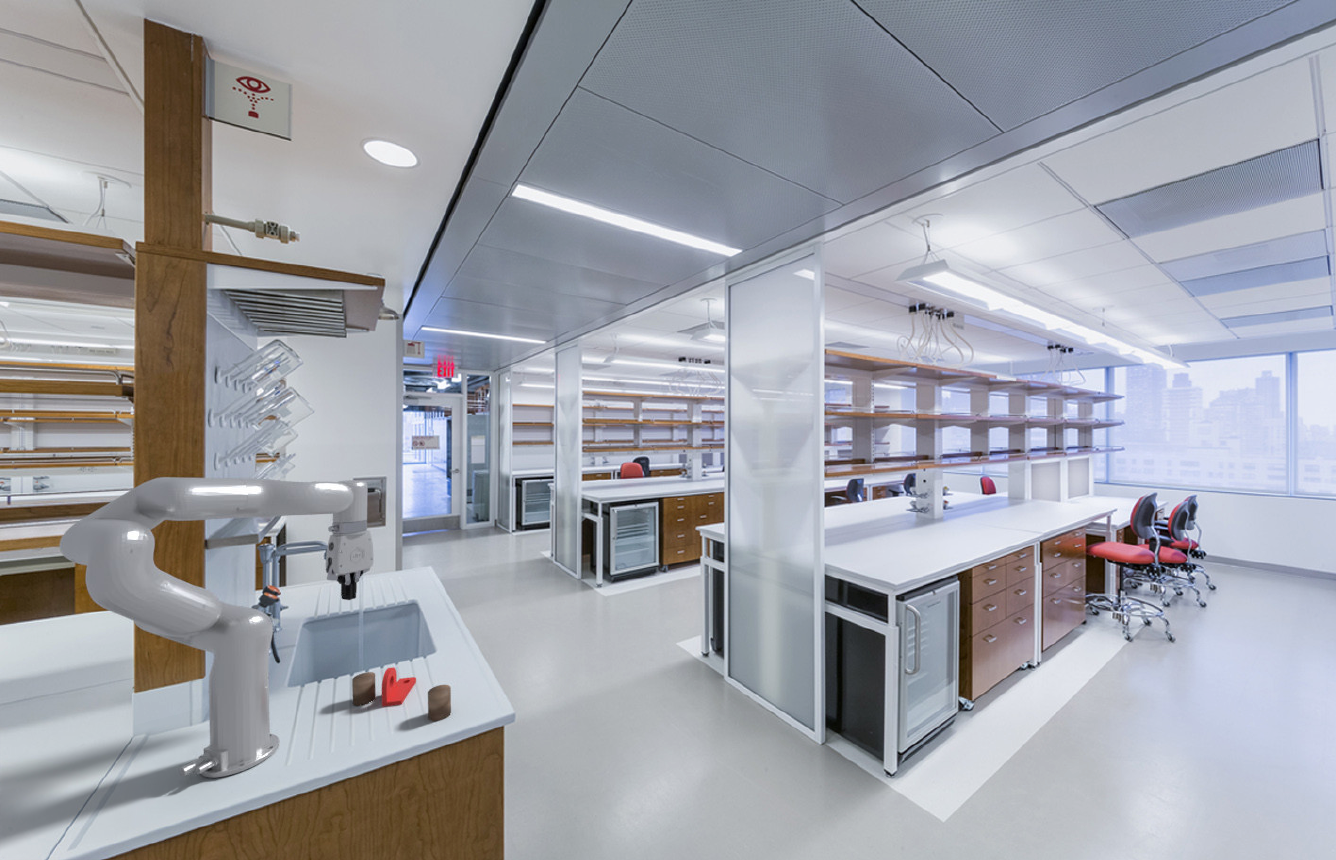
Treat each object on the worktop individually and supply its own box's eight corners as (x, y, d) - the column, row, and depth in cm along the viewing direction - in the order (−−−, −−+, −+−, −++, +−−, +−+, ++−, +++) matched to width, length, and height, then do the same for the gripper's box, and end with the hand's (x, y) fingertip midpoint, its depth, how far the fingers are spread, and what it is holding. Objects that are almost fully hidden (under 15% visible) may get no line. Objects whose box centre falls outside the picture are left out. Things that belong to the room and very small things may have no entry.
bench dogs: (440, 722, 113) (439, 697, 113) (347, 704, 121) (347, 680, 121) (455, 710, 117) (455, 686, 117) (365, 693, 126) (365, 671, 126)
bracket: (401, 705, 121) (400, 673, 121) (382, 707, 120) (381, 675, 120) (417, 680, 132) (416, 652, 132) (399, 682, 132) (398, 654, 132)
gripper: (331, 533, 116) (329, 609, 116) (386, 524, 130) (385, 592, 130) (310, 531, 119) (308, 606, 118) (366, 522, 133) (365, 589, 132)
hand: (348, 598), depth 124 cm, fingers closed
